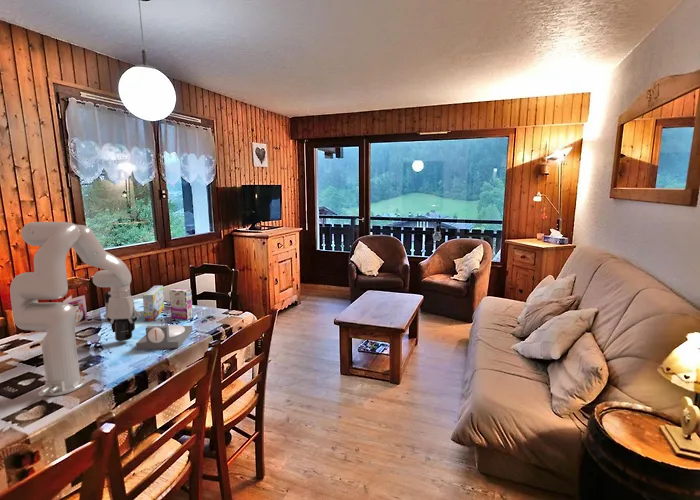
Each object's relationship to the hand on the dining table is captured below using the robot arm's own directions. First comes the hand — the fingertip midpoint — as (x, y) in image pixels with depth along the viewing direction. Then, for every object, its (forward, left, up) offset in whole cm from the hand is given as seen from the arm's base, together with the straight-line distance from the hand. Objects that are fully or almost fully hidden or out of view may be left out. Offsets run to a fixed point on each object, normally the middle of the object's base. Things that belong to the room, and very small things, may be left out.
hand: (123, 330), depth 170 cm
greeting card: (+26, +38, -6) cm, 46 cm away
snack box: (+39, +2, -6) cm, 39 cm away
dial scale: (+2, -18, -6) cm, 19 cm away
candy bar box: (+33, -15, -6) cm, 36 cm away
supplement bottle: (0, 0, -4) cm, 4 cm away
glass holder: (+33, +18, -6) cm, 38 cm away
